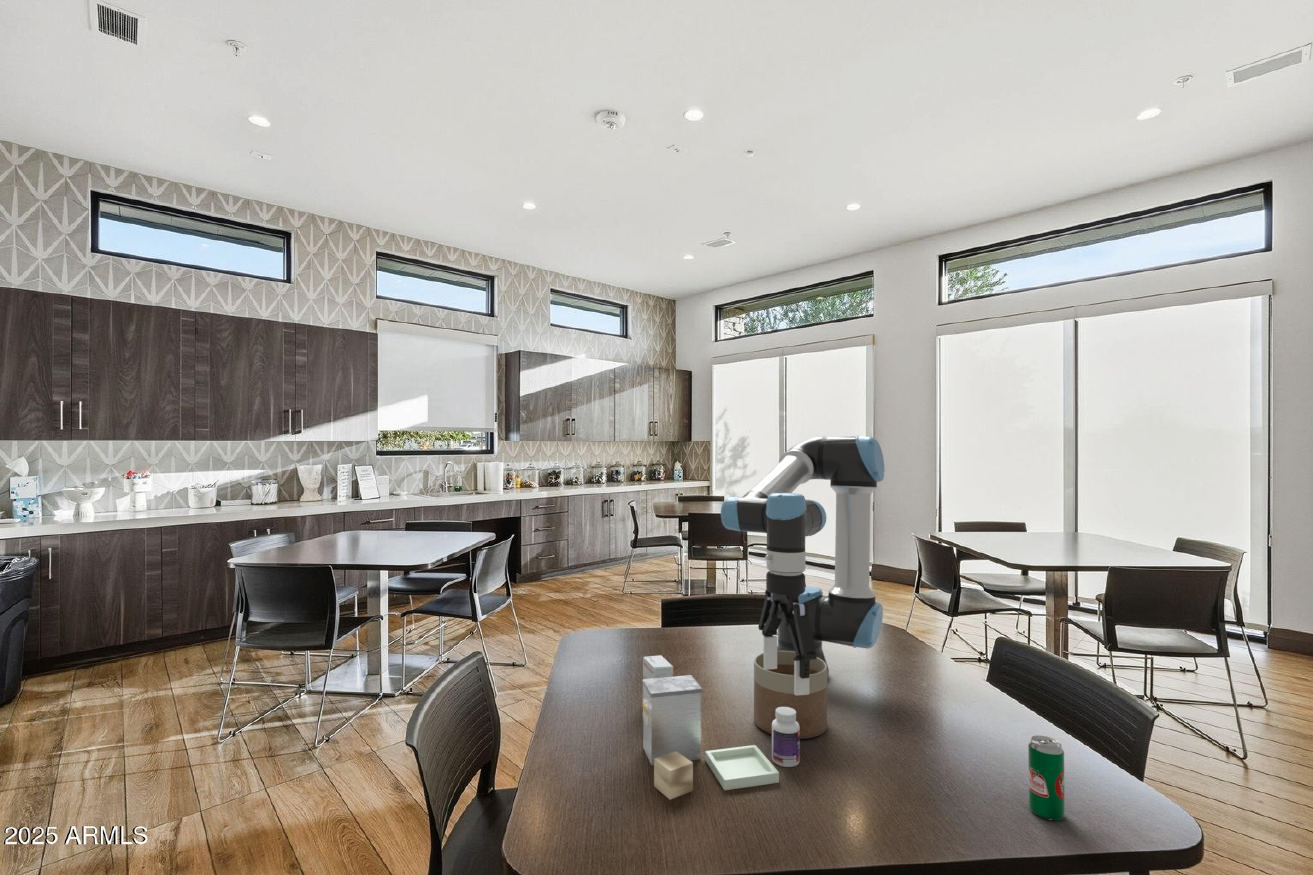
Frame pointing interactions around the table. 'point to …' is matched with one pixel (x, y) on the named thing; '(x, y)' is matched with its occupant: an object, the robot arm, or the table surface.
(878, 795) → the table surface
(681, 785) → the maple block
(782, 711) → the pill bottle
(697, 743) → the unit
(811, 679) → the planter
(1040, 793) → the soda can
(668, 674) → the ink box
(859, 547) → the robot arm
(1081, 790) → the table surface
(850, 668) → the table surface
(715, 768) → the tray
